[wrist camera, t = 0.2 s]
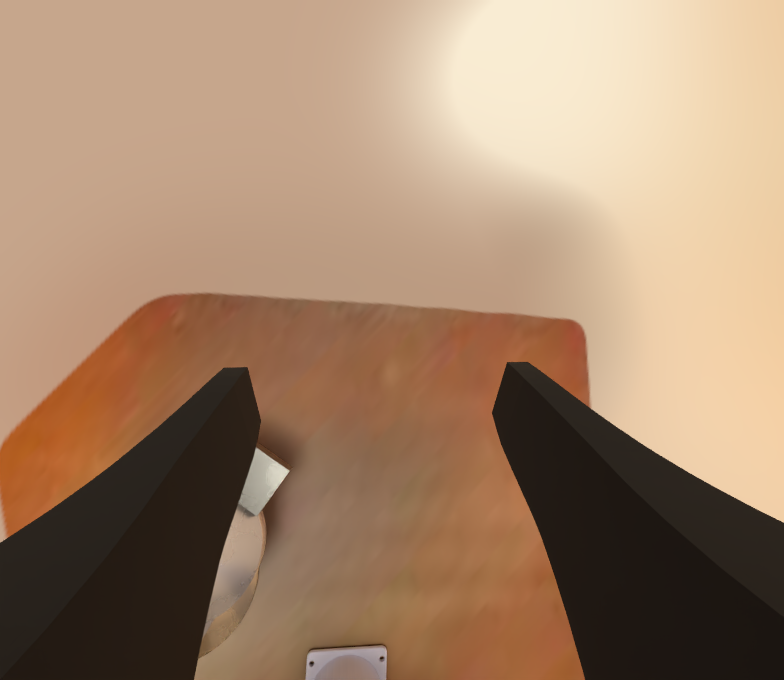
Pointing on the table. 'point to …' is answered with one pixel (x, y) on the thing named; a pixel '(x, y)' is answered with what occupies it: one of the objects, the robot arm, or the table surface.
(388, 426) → the table surface
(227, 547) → the cooker lid
